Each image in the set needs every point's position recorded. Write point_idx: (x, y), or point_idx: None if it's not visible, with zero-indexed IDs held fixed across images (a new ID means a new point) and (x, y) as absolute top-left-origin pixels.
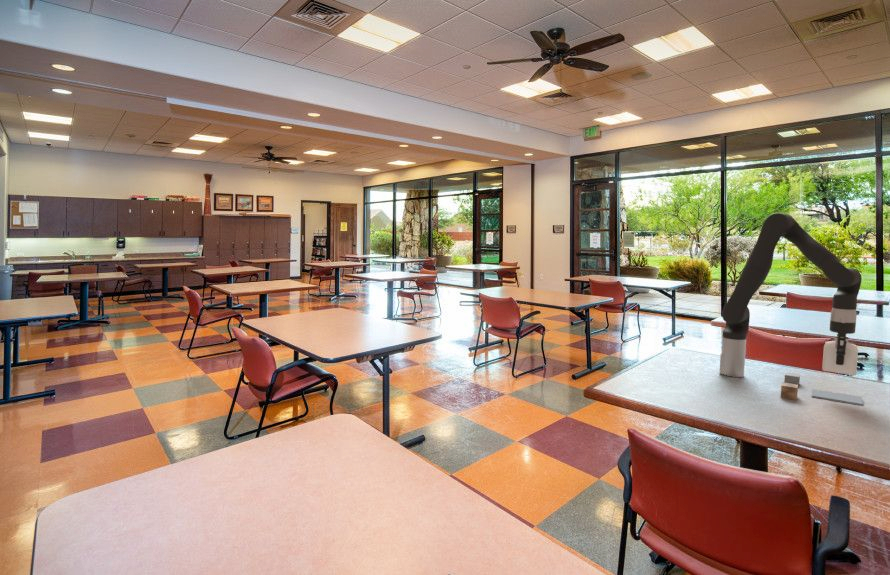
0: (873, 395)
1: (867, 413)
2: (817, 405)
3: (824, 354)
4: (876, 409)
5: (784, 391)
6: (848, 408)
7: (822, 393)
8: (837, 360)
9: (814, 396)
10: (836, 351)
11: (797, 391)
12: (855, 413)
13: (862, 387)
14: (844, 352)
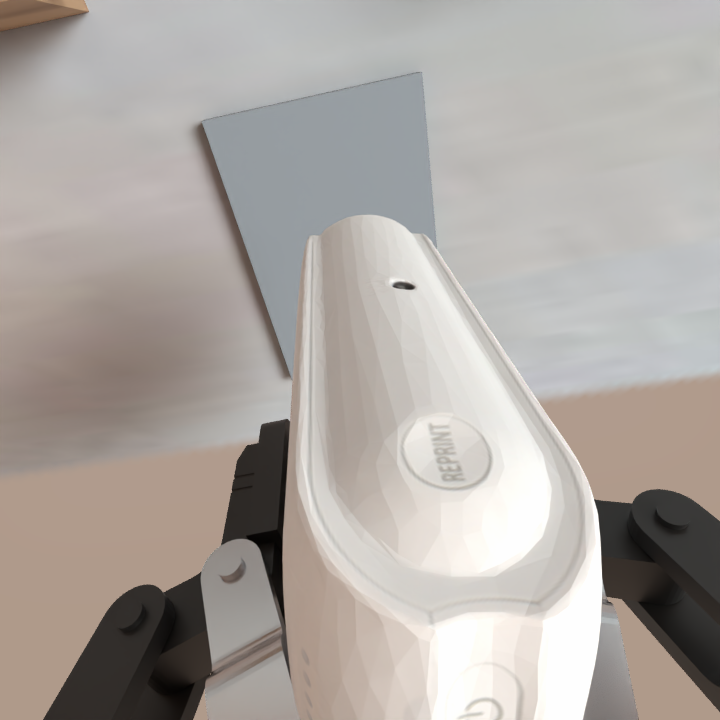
0: (546, 370)
1: (166, 410)
2: (22, 205)
3: (298, 357)
4: (279, 419)
5: None
6: (163, 341)
7: (336, 171)
8: (263, 469)
9: (210, 140)
10: (262, 588)
11: (36, 11)
12: (104, 379)
13: (701, 306)
14: (141, 701)
